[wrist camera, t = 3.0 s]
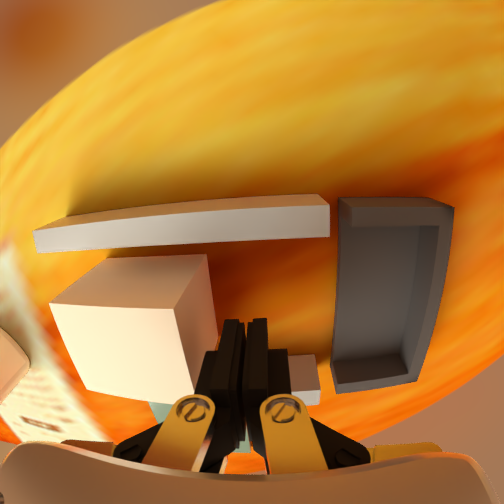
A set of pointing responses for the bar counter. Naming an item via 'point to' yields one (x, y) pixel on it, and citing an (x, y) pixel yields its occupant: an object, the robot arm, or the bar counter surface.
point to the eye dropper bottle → (11, 364)
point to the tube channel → (201, 239)
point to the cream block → (140, 325)
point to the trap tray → (387, 288)
